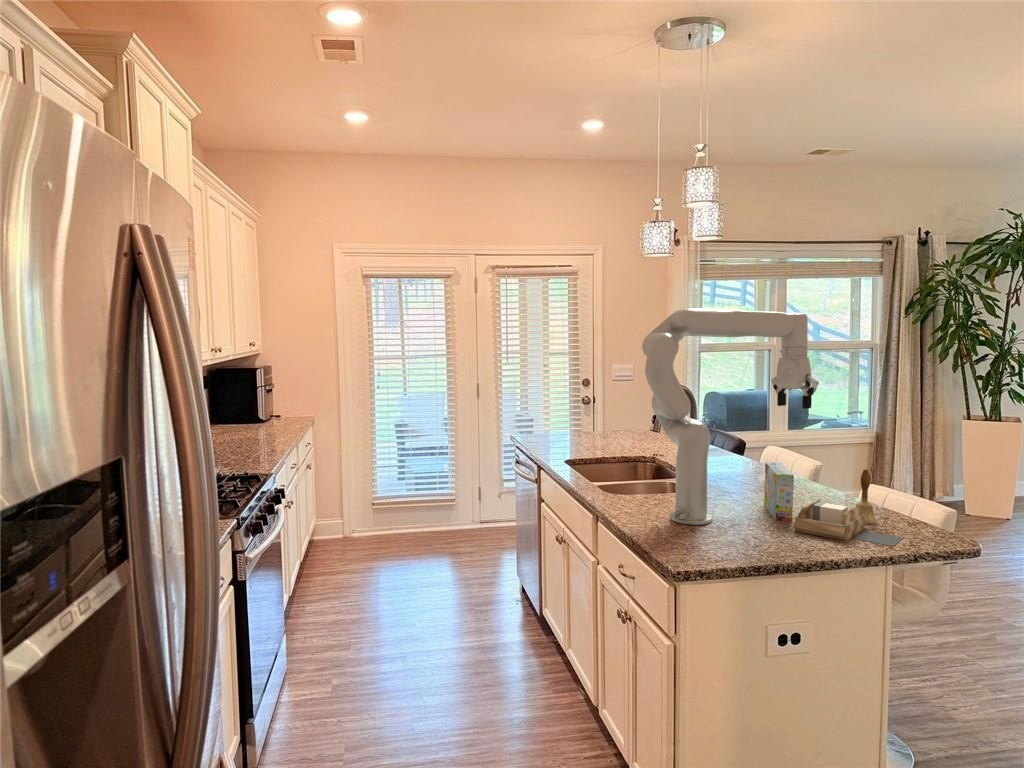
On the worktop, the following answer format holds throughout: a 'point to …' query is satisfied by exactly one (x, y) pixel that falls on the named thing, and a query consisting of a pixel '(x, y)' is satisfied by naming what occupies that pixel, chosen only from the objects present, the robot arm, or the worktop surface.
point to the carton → (850, 518)
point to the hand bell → (864, 504)
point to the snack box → (778, 491)
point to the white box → (829, 513)
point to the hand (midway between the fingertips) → (794, 406)
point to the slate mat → (879, 538)
